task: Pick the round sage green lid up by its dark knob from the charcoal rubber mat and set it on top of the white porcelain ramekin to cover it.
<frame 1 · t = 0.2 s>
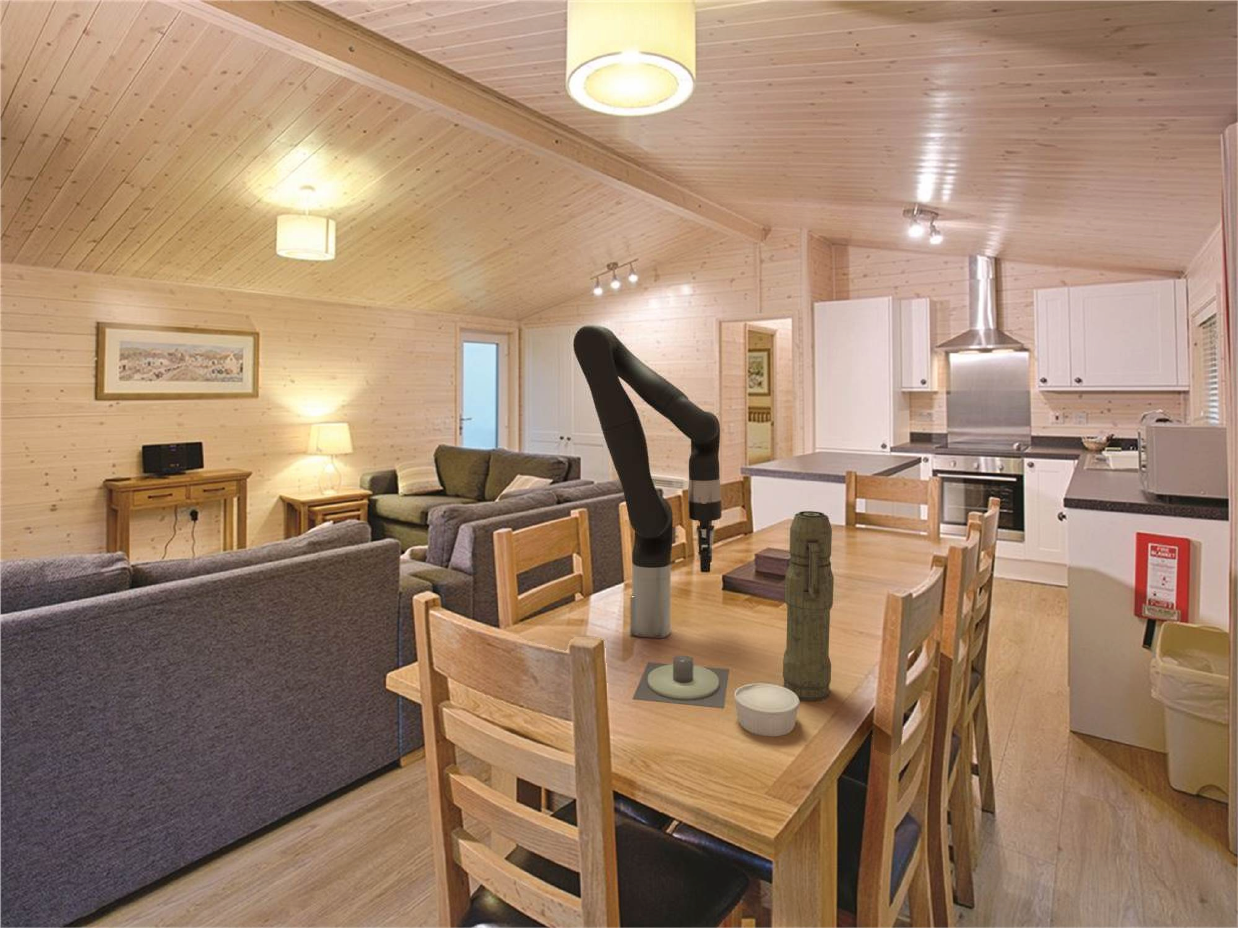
hand: (706, 566, 152), 17 cm above the table, tool pointing down, fingers open, 8 cm apart
lid: (683, 683, 129), resting on mat
ramekin: (765, 726, 114), on the table
mat: (683, 685, 129), on the table
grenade: (806, 691, 126), on the table
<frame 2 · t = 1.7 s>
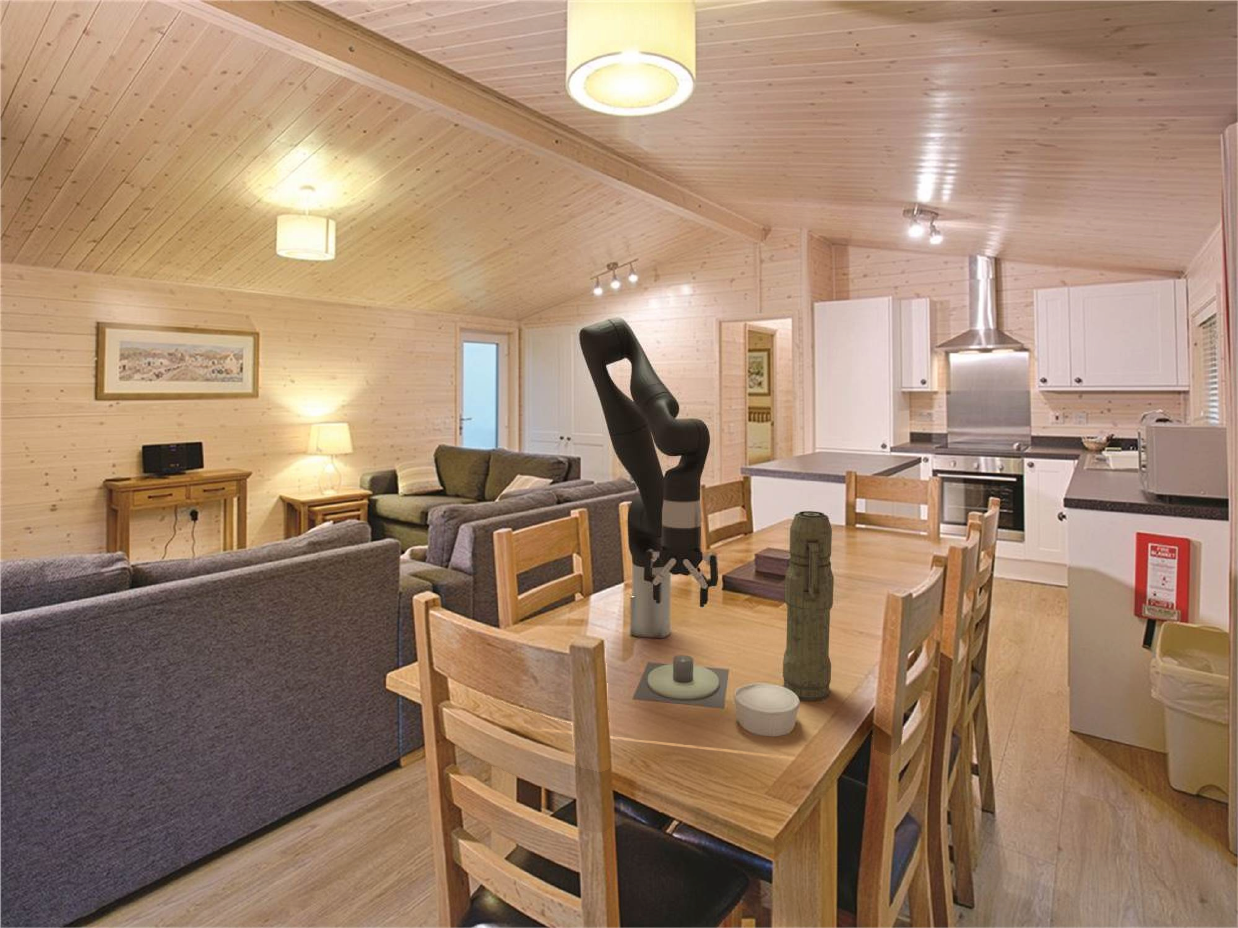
hand: (680, 604, 127), 17 cm above the table, tool pointing down, fingers open, 8 cm apart
nothing on the table moved.
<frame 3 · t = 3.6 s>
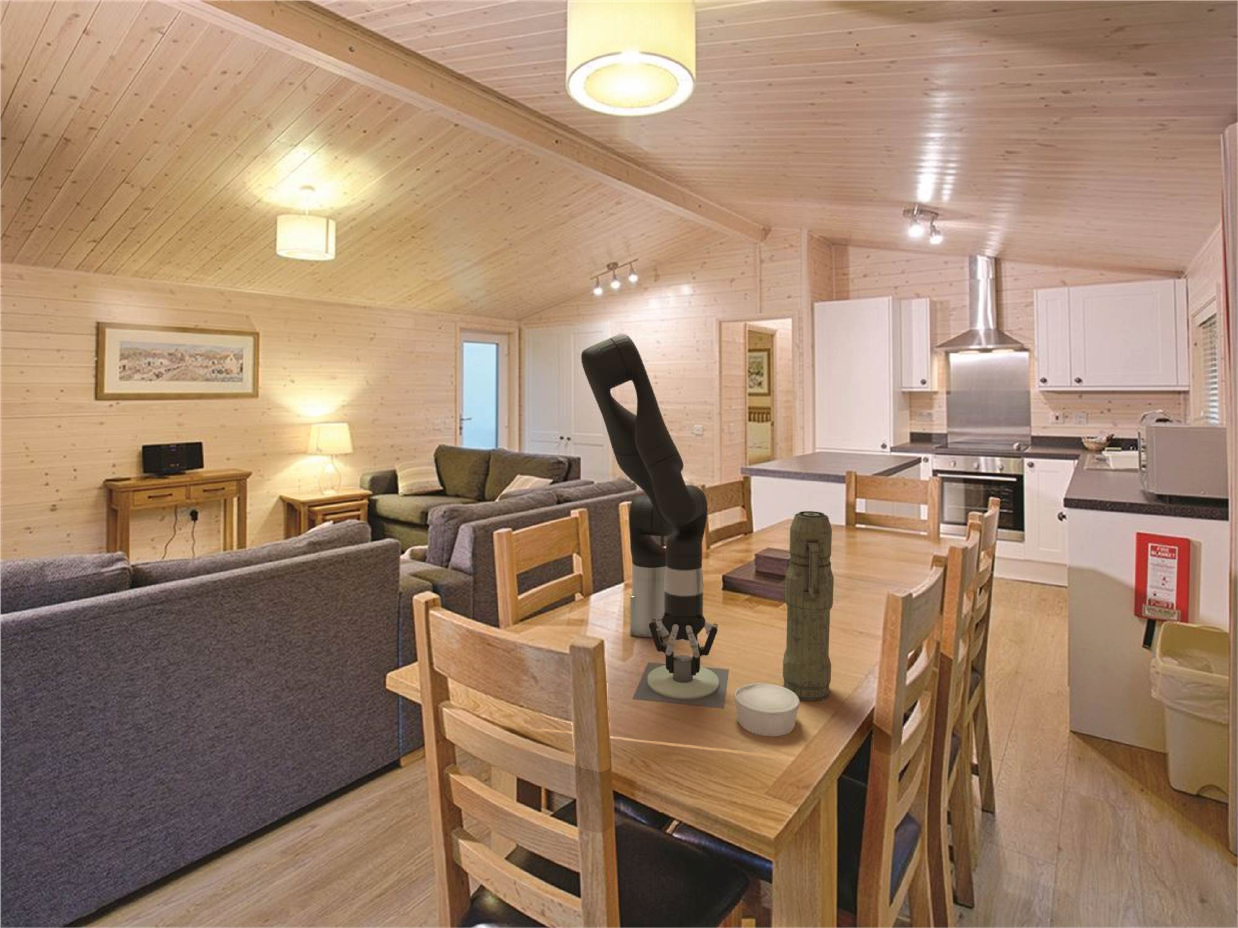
hand: (683, 672, 128), 3 cm above the table, tool pointing down, fingers closed on lid, 4 cm apart
lid: (682, 683, 129), resting on mat, touching gripper
everything else where it was.
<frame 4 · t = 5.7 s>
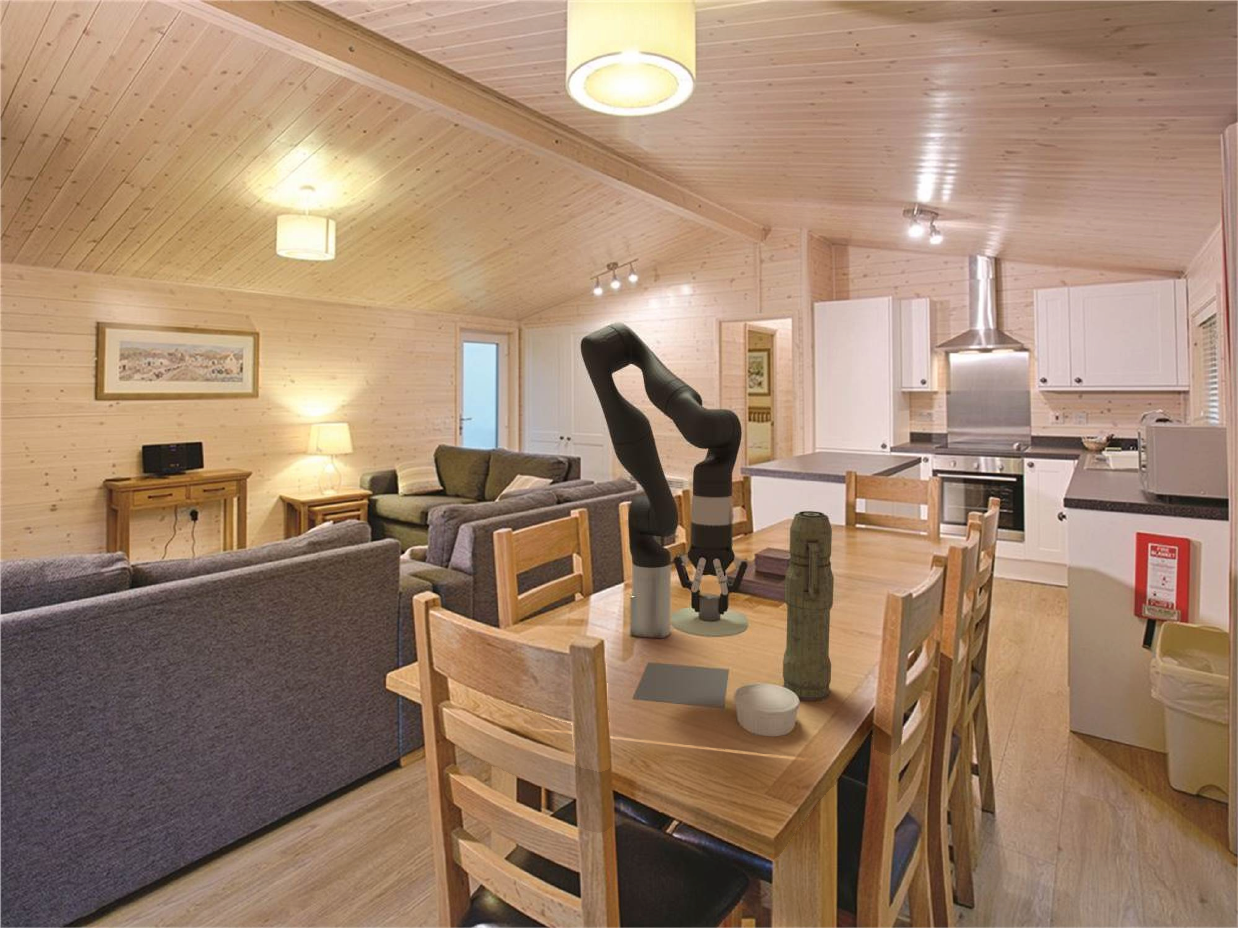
hand: (709, 611, 119), 18 cm above the table, tool pointing down, fingers closed on lid, 4 cm apart
lid: (709, 623, 119), point 16 cm above the table, touching gripper
everything else where it was.
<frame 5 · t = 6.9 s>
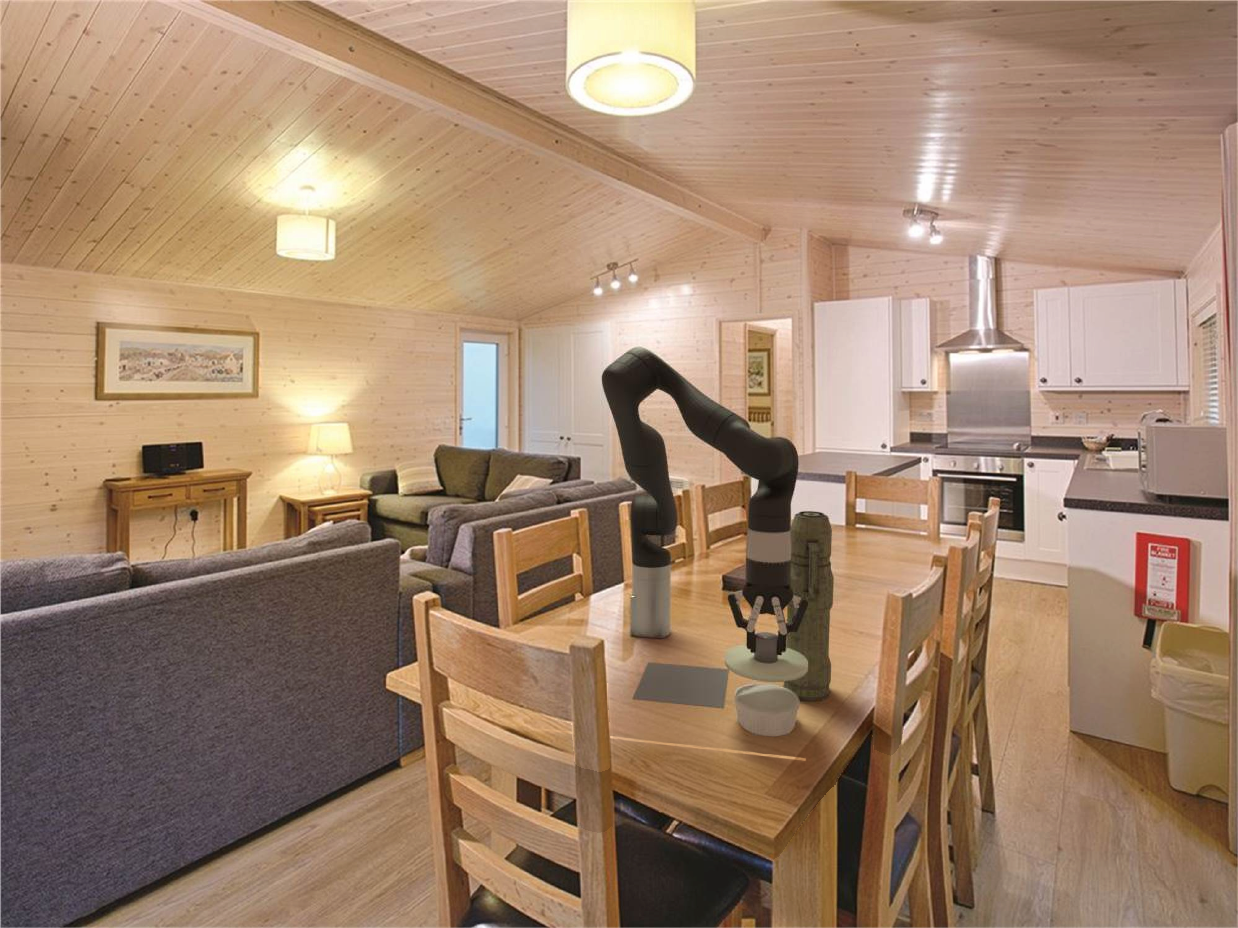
hand: (766, 651, 112), 13 cm above the table, tool pointing down, fingers closed on lid, 4 cm apart
lid: (765, 664, 112), point 11 cm above the table, touching gripper
everything else where it was.
when the fingers open (9 cm above the table, at t = 8.0 s): lid drops 1 cm, resting on ramekin.
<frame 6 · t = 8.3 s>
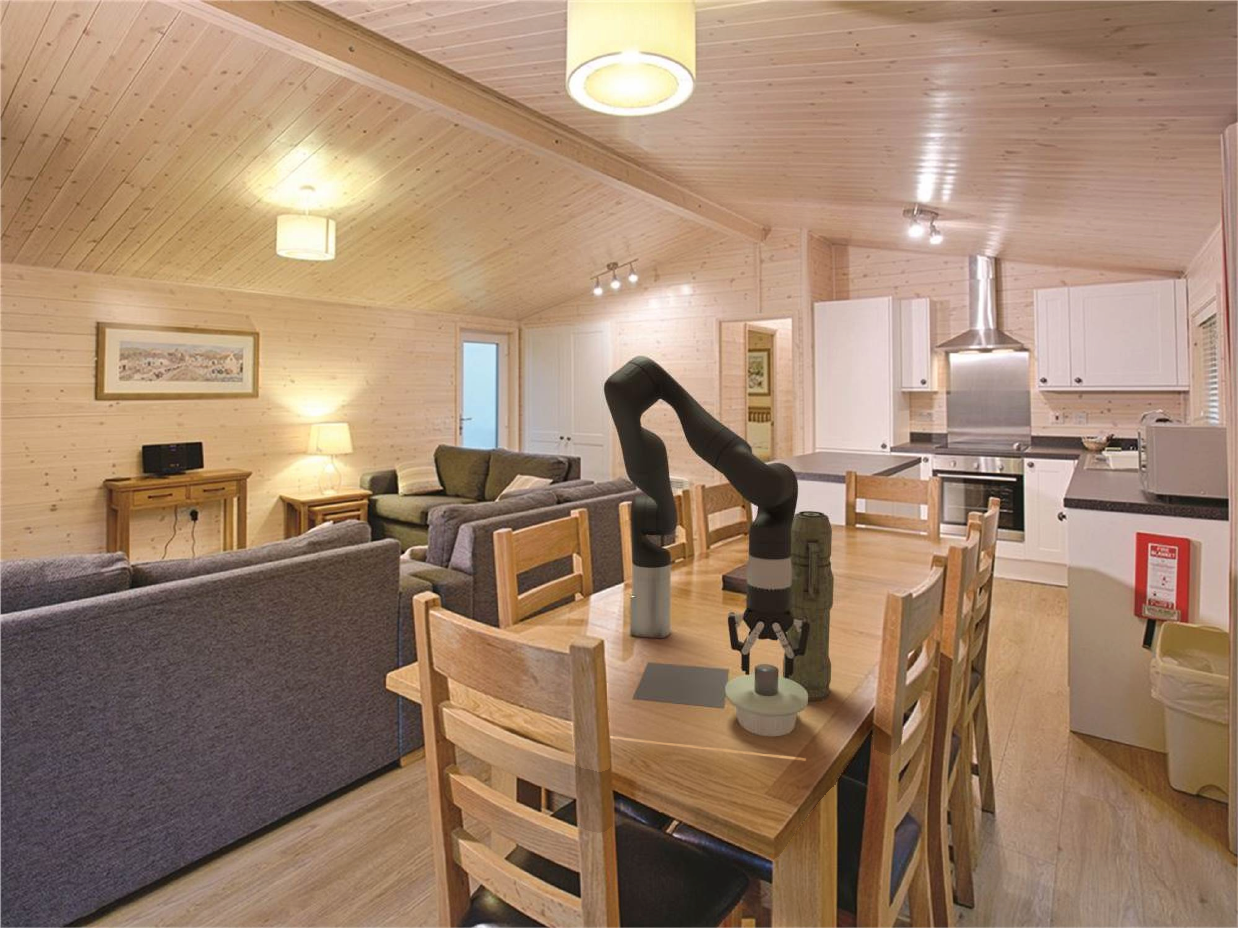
hand: (767, 674, 113), 9 cm above the table, tool pointing down, fingers open, 6 cm apart
lid: (765, 696, 113), point 5 cm above the table, touching ramekin
ramekin: (765, 726, 114), on the table, touching lid
everything else where it was.
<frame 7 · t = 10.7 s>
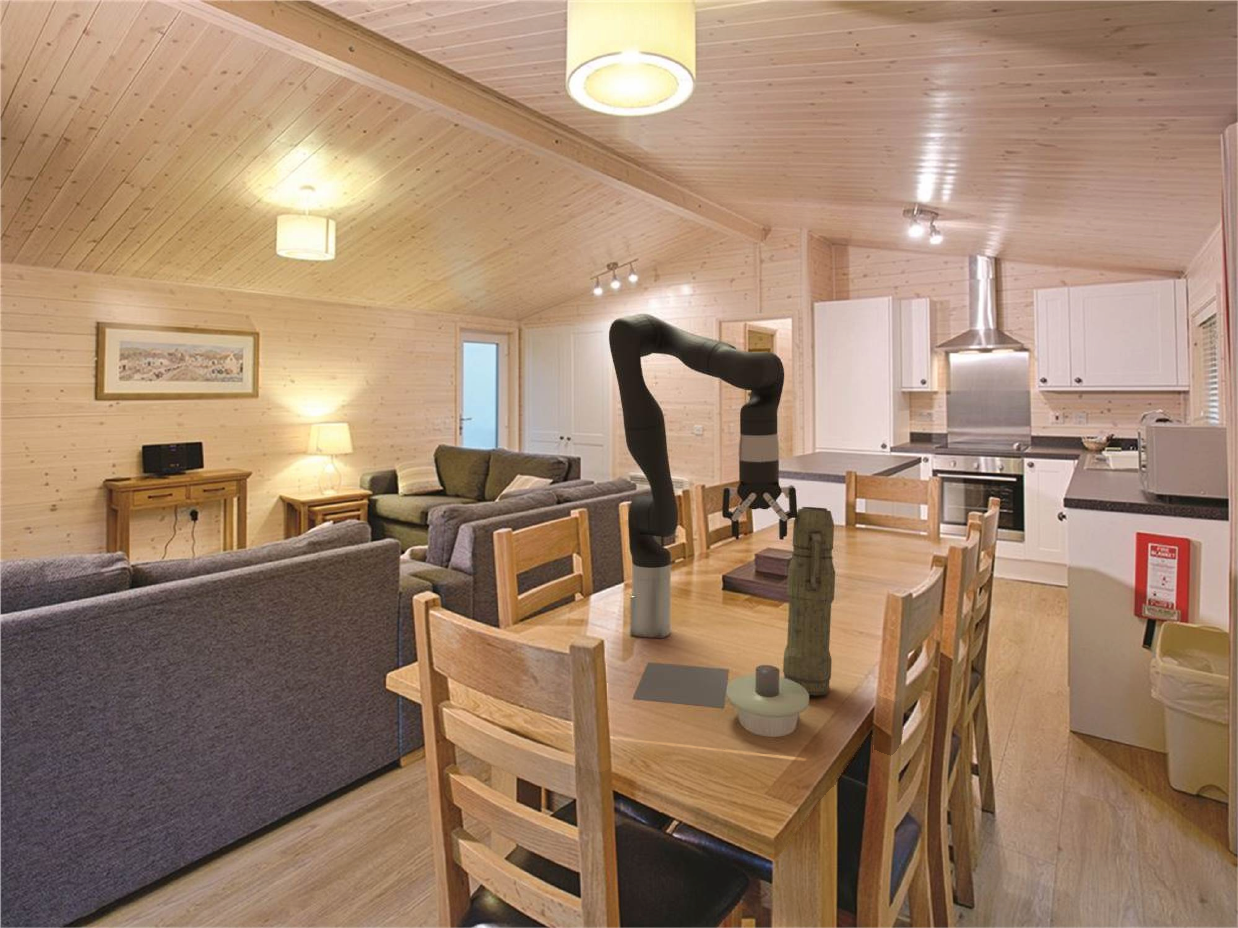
hand: (759, 538, 128), 29 cm above the table, tool pointing down, fingers open, 8 cm apart
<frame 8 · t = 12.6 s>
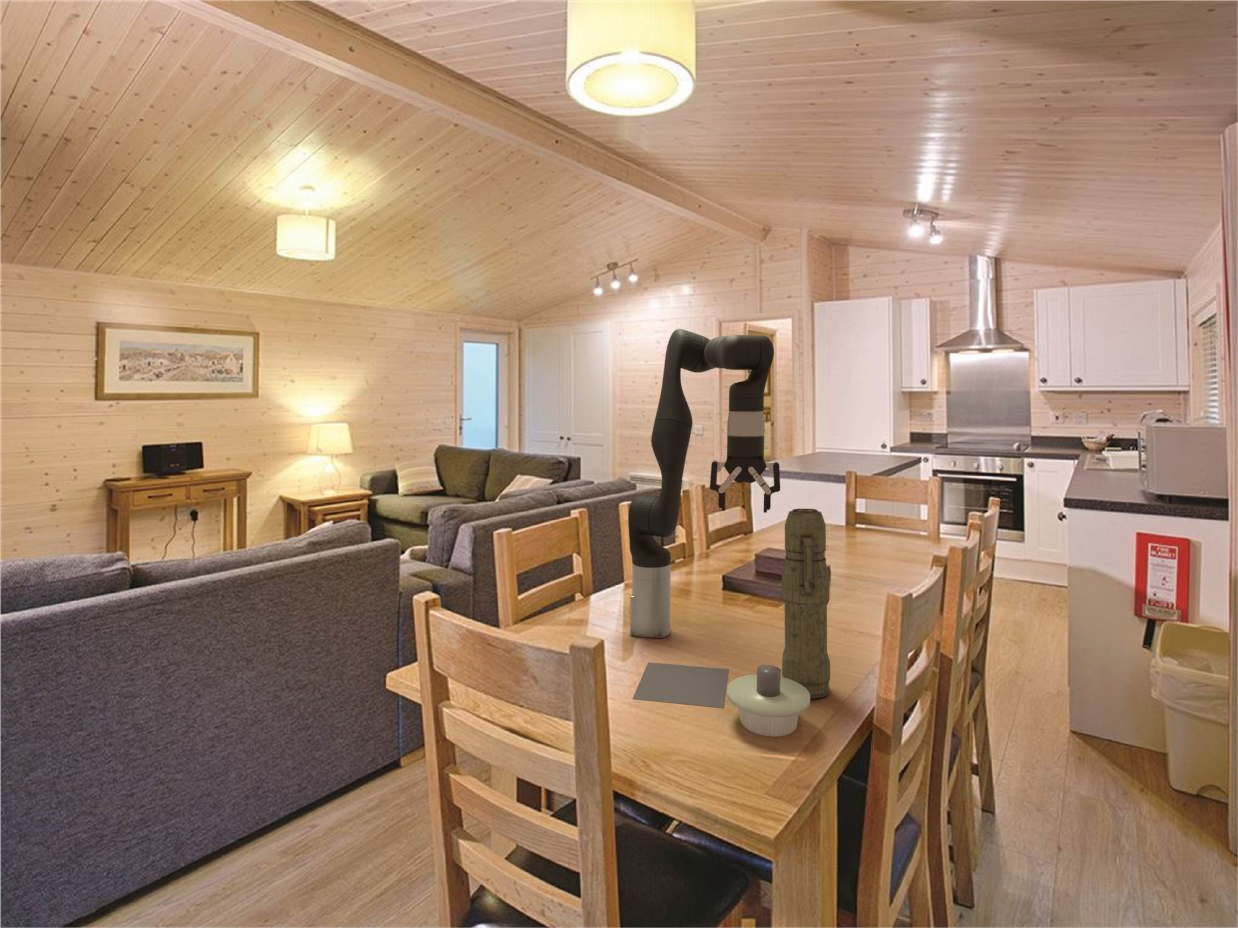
hand: (744, 511, 135), 33 cm above the table, tool pointing down, fingers open, 8 cm apart
at the end: lid 0.2 cm from the ramekin (horizontally); lid point 5.1 cm above the table; lid tilted 0° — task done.
